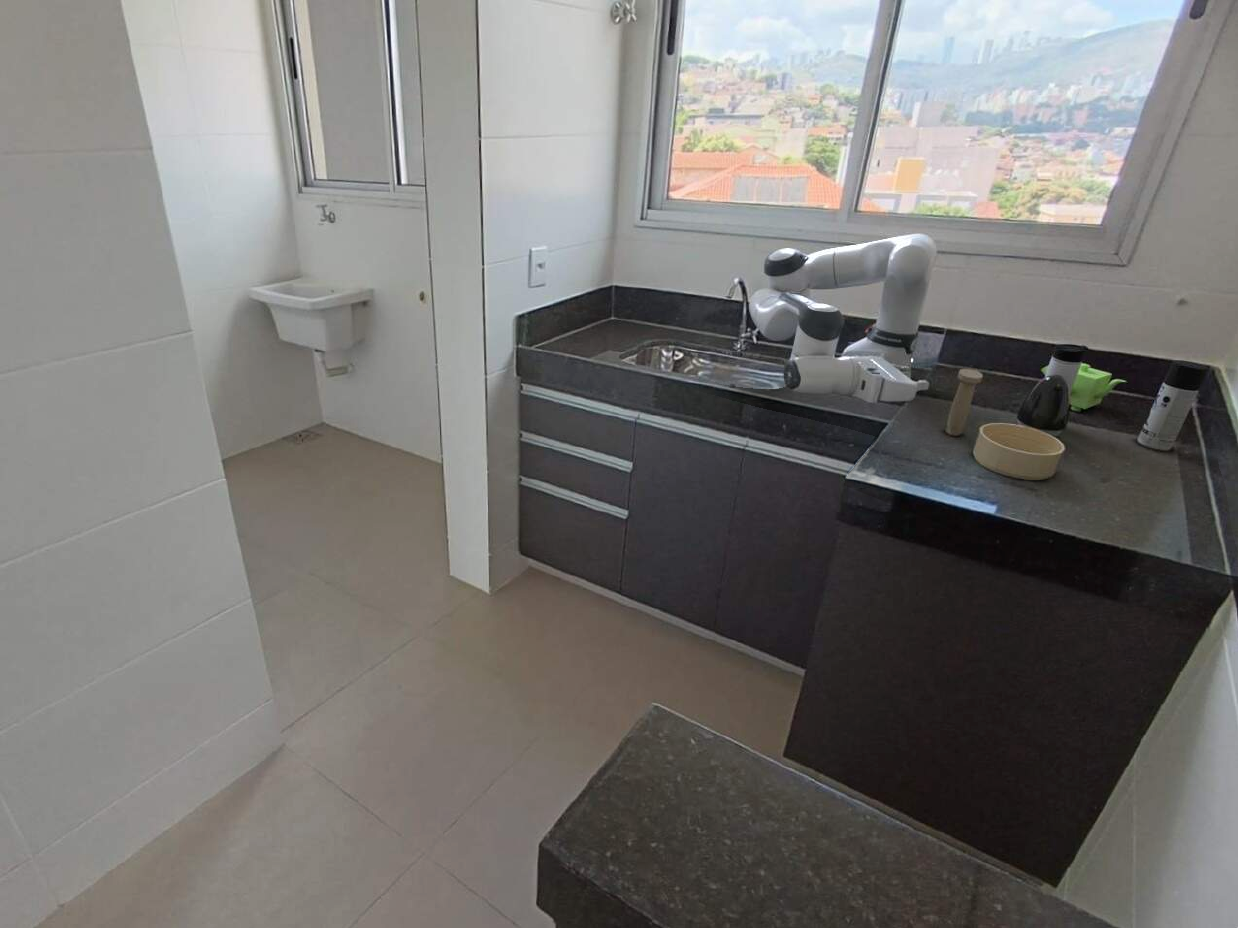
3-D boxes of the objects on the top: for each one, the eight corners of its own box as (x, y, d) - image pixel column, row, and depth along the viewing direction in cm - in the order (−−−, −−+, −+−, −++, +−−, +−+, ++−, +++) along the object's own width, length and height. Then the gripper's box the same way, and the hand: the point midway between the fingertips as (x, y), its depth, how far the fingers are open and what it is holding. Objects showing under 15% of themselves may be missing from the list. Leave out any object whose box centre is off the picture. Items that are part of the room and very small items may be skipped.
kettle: (1112, 417, 174) (1129, 376, 169) (1054, 412, 176) (1069, 371, 171) (1085, 397, 188) (1100, 358, 182) (1031, 392, 189) (1044, 353, 184)
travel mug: (1063, 429, 166) (1093, 350, 157) (1034, 426, 167) (1062, 347, 158) (1054, 419, 171) (1082, 343, 162) (1026, 416, 172) (1052, 340, 163)
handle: (941, 436, 158) (959, 375, 151) (941, 426, 163) (959, 367, 157) (964, 440, 156) (983, 379, 150) (963, 430, 162) (981, 371, 155)
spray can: (1140, 436, 164) (1175, 357, 155) (1173, 446, 160) (1211, 365, 150) (1133, 444, 159) (1169, 363, 150) (1168, 454, 155) (1207, 371, 146)
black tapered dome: (1015, 440, 158) (1036, 378, 151) (1009, 424, 167) (1029, 365, 160) (1064, 448, 155) (1088, 386, 148) (1055, 431, 164) (1077, 372, 157)
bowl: (960, 461, 146) (968, 436, 144) (986, 440, 157) (994, 417, 154) (1042, 488, 137) (1052, 462, 134) (1063, 465, 147) (1073, 440, 144)
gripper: (839, 374, 162) (894, 375, 163) (872, 406, 144) (935, 407, 145) (844, 348, 159) (900, 350, 160) (879, 378, 141) (942, 379, 142)
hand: (917, 377), depth 153 cm, fingers open, 8 cm apart
